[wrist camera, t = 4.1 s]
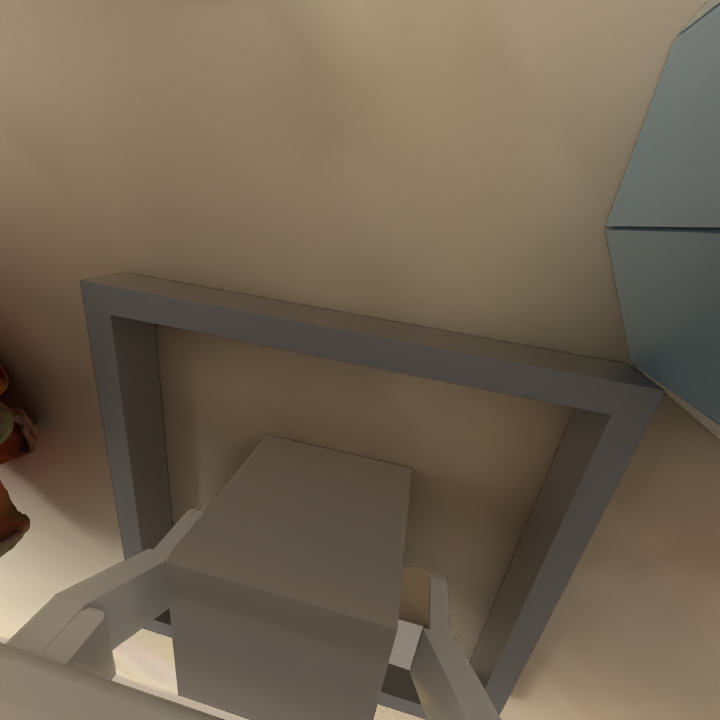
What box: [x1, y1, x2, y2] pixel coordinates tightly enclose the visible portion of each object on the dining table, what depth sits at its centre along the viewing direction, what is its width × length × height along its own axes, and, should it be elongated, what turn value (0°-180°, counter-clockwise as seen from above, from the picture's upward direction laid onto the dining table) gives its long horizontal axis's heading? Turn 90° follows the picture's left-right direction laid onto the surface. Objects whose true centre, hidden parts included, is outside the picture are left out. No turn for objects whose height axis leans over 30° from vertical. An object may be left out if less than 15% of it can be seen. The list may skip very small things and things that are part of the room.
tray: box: [80, 273, 665, 720], centre depth 12 cm, size 14×14×2 cm
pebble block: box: [165, 434, 412, 720], centre depth 10 cm, size 5×5×5 cm
